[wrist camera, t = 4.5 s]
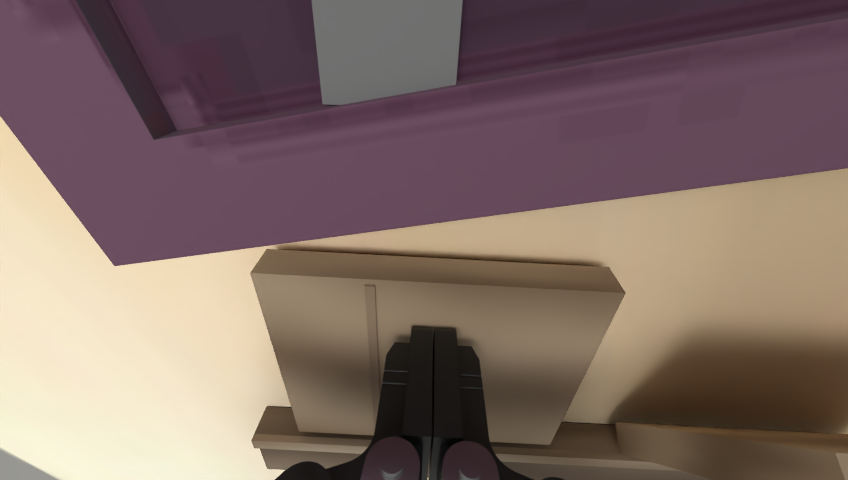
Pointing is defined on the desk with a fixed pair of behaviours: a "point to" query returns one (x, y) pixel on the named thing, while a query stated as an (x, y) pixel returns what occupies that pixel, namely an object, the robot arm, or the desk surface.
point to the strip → (564, 458)
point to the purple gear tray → (406, 109)
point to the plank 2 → (737, 451)
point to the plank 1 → (435, 308)
